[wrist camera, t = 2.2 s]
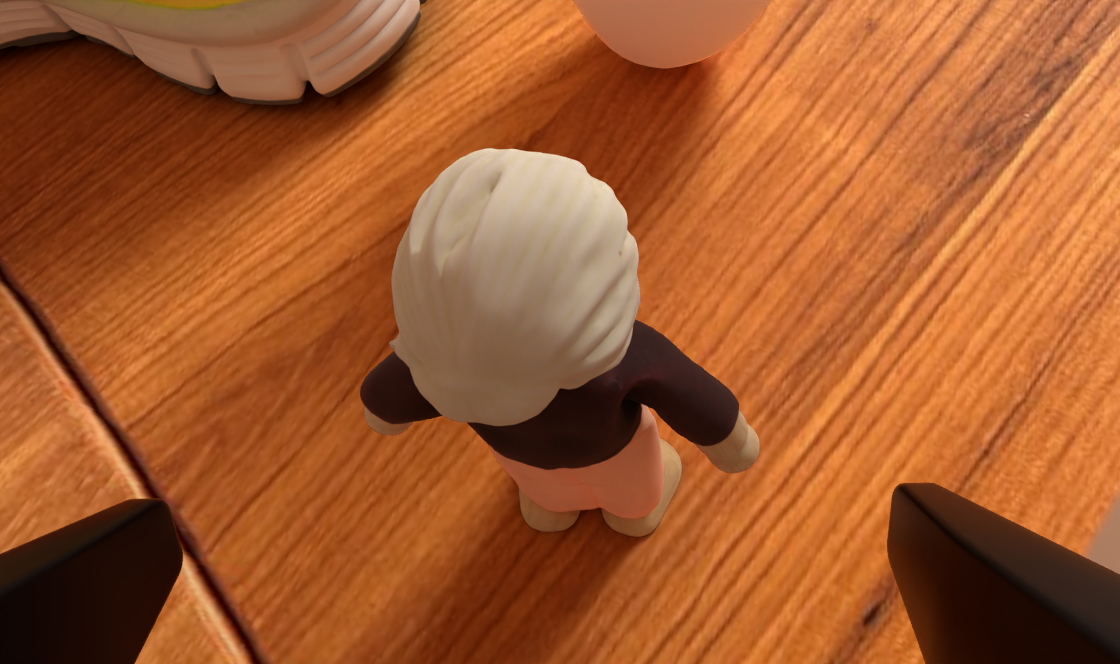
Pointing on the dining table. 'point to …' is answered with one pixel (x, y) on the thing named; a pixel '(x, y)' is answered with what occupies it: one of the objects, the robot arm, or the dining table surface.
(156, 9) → the running shoe
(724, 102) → the dining table surface
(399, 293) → the grandmother figurine
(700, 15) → the white bulb air blower
